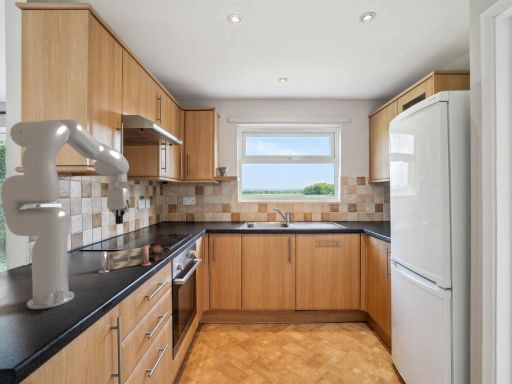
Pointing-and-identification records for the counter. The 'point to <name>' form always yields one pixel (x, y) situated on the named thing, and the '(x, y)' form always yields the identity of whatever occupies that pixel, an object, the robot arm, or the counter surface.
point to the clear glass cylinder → (104, 262)
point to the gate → (121, 255)
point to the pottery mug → (158, 252)
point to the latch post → (145, 256)
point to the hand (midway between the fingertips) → (119, 223)
